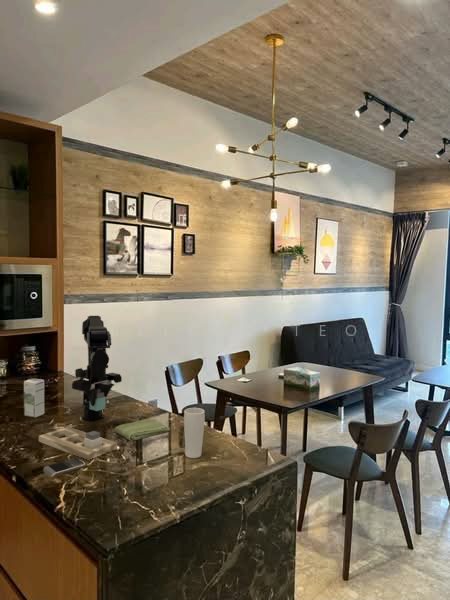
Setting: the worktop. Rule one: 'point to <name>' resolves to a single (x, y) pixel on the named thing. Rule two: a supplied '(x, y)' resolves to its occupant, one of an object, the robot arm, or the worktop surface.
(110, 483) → the worktop surface
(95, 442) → the off-white plug
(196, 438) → the drinking glass
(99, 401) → the teal plug
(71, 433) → the wooden grid tray
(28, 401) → the syrup box
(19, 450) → the worktop surface
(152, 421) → the washcloth
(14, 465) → the worktop surface
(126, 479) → the worktop surface
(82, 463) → the cell phone
